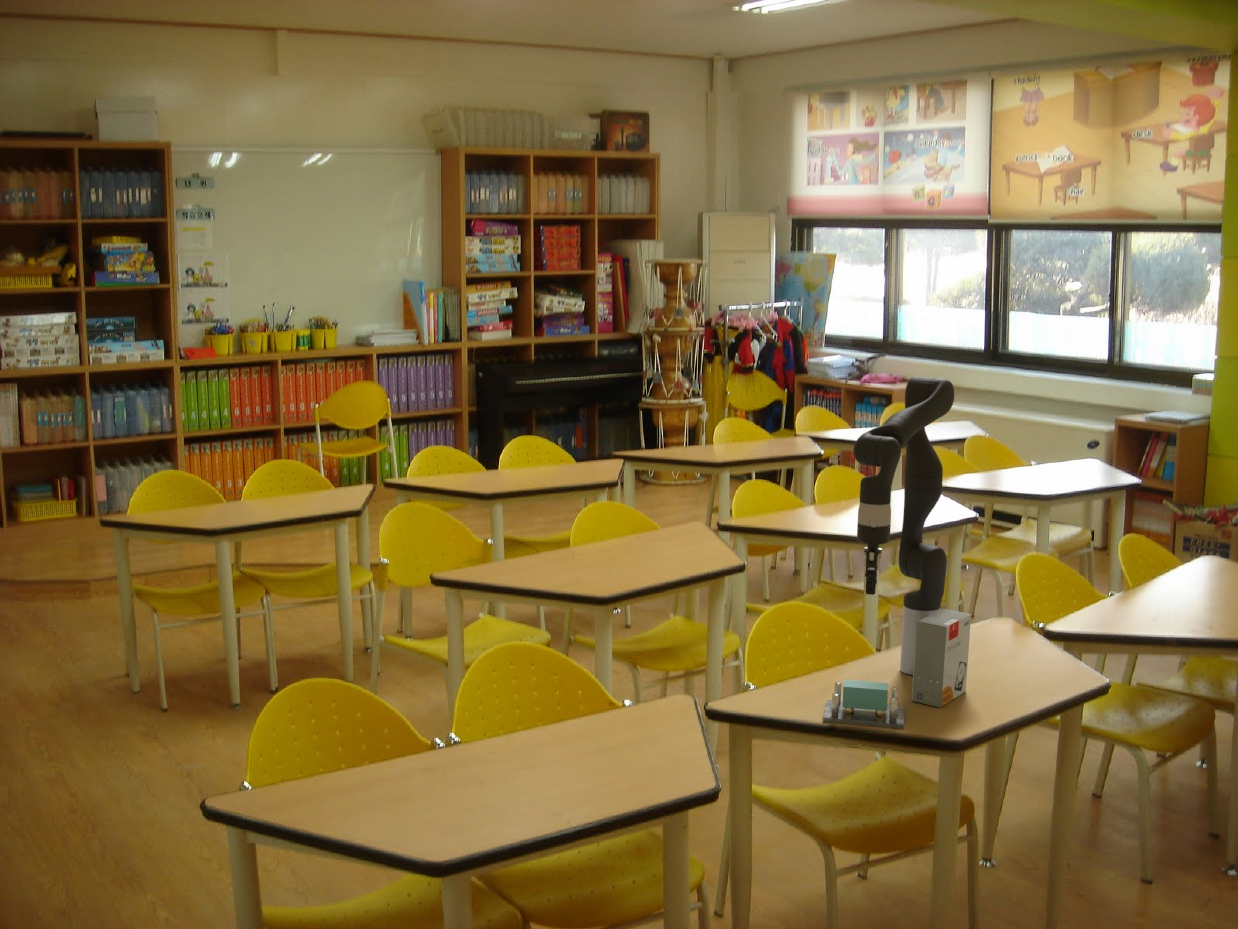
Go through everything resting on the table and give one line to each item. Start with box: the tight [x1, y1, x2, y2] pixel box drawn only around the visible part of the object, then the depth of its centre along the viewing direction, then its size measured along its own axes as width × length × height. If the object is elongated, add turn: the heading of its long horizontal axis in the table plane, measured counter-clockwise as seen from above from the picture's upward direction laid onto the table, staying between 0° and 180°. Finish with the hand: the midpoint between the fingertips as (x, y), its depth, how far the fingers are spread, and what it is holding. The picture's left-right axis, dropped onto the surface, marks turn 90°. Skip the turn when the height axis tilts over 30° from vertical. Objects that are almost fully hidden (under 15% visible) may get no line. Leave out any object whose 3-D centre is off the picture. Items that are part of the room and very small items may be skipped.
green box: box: [842, 679, 889, 711], centre depth 301 cm, size 5×10×5 cm, turn 78°
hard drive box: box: [911, 608, 972, 708], centre depth 313 cm, size 16×8×20 cm, turn 143°
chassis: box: [822, 681, 906, 730], centre depth 301 cm, size 12×18×6 cm, turn 77°
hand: (871, 589), depth 304 cm, fingers open, 8 cm apart
